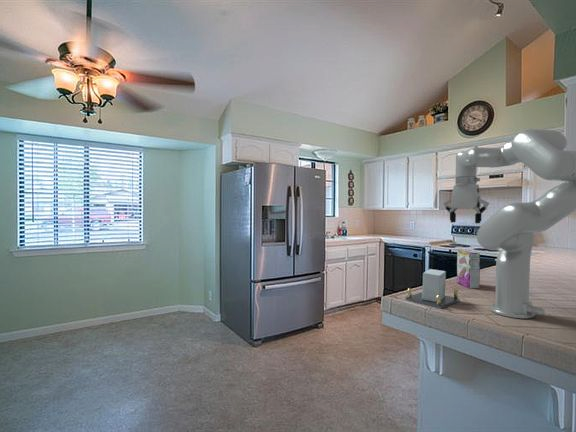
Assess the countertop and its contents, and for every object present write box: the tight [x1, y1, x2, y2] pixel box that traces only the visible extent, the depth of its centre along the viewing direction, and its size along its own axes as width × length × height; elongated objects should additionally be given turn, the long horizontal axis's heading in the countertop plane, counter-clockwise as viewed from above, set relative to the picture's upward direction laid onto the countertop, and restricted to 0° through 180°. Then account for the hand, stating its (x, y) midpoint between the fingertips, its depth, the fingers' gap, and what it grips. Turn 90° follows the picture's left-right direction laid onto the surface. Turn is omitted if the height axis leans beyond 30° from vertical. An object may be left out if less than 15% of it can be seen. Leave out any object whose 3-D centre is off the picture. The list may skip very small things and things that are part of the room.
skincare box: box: [421, 268, 447, 302], centre depth 122 cm, size 10×6×10 cm, turn 142°
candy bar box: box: [456, 248, 481, 290], centre depth 146 cm, size 11×5×16 cm, turn 179°
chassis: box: [405, 287, 461, 310], centre depth 123 cm, size 14×15×4 cm
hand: (465, 222), depth 130 cm, fingers open, 9 cm apart
